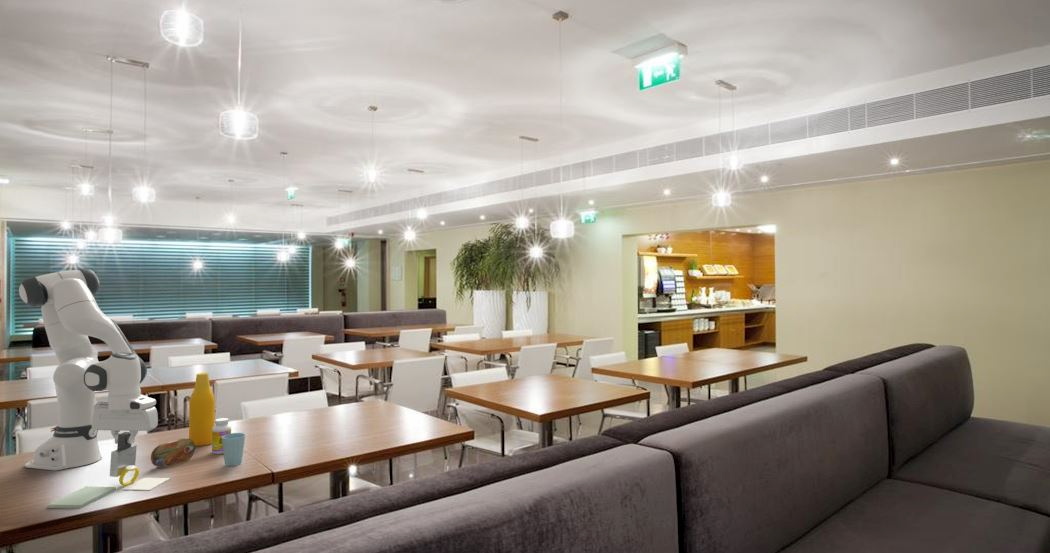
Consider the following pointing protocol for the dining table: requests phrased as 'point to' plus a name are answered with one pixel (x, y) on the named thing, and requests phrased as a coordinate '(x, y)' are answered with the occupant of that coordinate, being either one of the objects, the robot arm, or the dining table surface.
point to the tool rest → (82, 497)
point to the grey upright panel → (122, 455)
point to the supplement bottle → (219, 434)
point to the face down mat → (146, 484)
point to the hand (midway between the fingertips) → (124, 443)
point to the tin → (172, 453)
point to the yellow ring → (128, 468)
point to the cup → (233, 448)
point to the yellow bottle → (201, 412)
